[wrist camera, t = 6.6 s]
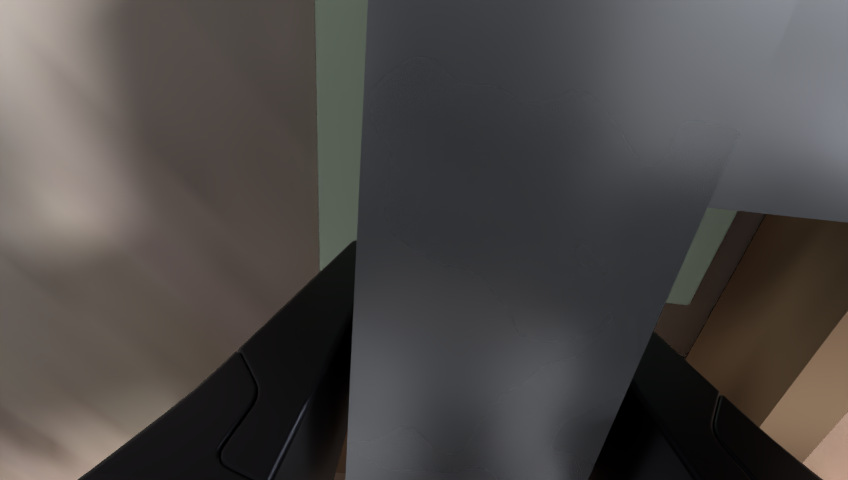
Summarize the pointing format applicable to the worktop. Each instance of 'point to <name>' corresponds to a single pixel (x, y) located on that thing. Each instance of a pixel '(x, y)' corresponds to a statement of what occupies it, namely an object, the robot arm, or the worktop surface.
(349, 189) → the pad
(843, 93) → the bracket
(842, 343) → the wooden corner frame
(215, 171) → the worktop surface
